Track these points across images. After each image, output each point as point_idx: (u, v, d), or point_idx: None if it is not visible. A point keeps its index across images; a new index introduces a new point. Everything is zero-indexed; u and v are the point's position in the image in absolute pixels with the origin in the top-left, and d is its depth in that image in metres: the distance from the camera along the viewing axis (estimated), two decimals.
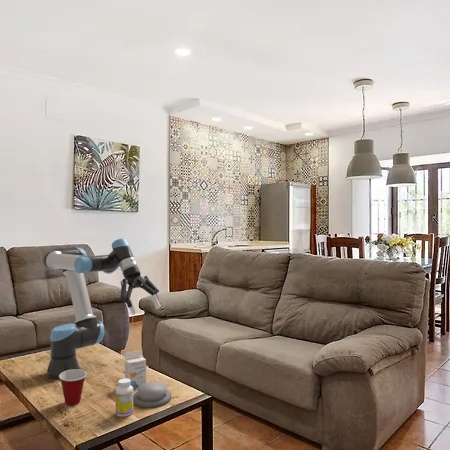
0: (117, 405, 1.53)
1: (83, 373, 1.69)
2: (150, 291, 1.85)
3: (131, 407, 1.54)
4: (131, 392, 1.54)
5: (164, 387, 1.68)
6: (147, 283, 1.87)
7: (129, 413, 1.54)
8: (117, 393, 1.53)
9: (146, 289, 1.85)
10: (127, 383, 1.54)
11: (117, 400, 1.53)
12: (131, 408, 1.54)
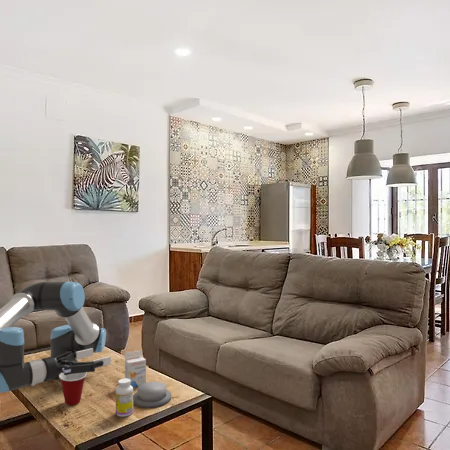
0: (117, 405, 1.53)
1: (83, 373, 1.69)
2: None
3: (131, 407, 1.54)
4: (131, 392, 1.54)
5: (164, 387, 1.68)
6: None
7: (129, 413, 1.54)
8: (117, 393, 1.53)
9: None
10: (127, 383, 1.54)
11: (117, 400, 1.53)
12: (131, 408, 1.54)
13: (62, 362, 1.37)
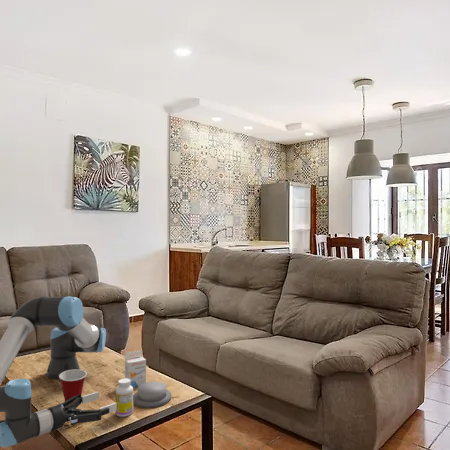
0: (117, 405, 1.53)
1: (83, 373, 1.69)
2: None
3: (131, 407, 1.54)
4: (131, 392, 1.54)
5: (164, 387, 1.68)
6: None
7: (129, 413, 1.54)
8: (117, 393, 1.53)
9: None
10: (127, 383, 1.54)
11: (117, 400, 1.53)
12: (131, 408, 1.54)
13: (69, 411, 1.38)
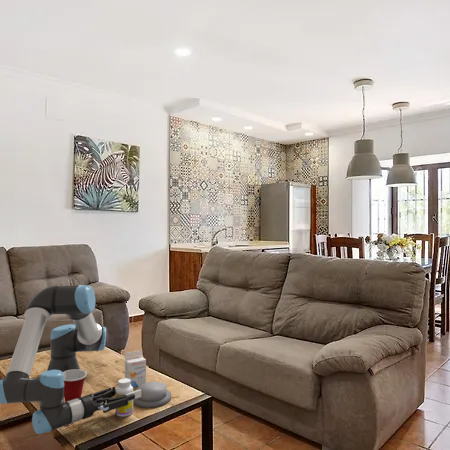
0: None
1: (83, 373, 1.69)
2: None
3: (131, 407, 1.54)
4: None
5: (164, 387, 1.68)
6: None
7: (129, 413, 1.54)
8: (117, 393, 1.53)
9: None
10: (127, 383, 1.54)
11: None
12: (131, 408, 1.54)
13: (98, 400, 1.46)
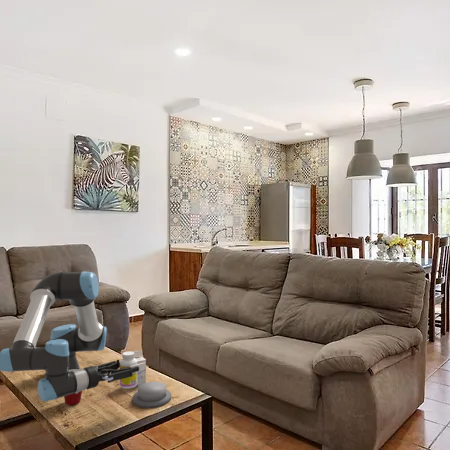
0: None
1: None
2: None
3: (135, 379, 1.56)
4: (135, 364, 1.56)
5: (164, 387, 1.68)
6: None
7: (133, 385, 1.55)
8: (121, 365, 1.54)
9: None
10: (131, 355, 1.55)
11: None
12: (135, 380, 1.56)
13: (103, 371, 1.48)
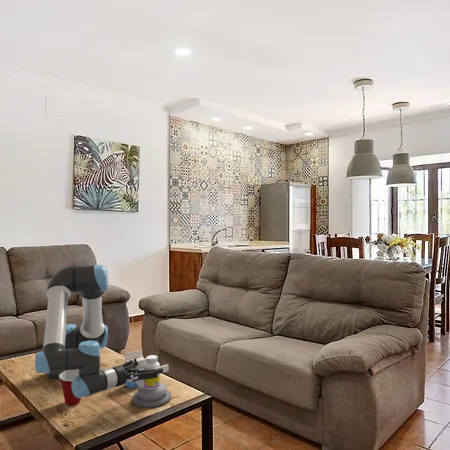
0: (145, 379, 1.66)
1: None
2: None
3: (158, 381, 1.67)
4: None
5: (164, 387, 1.68)
6: None
7: (156, 386, 1.66)
8: (145, 368, 1.66)
9: None
10: (154, 359, 1.67)
11: None
12: (158, 382, 1.67)
13: (129, 370, 1.59)
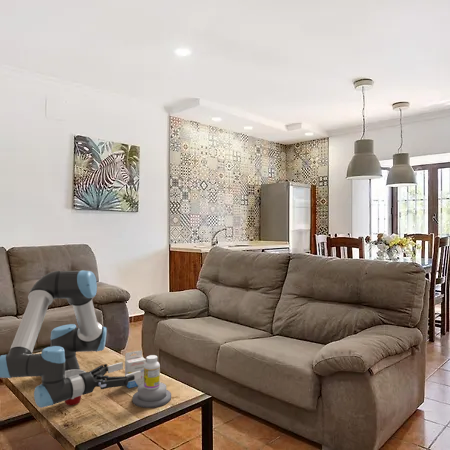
0: (145, 379, 1.66)
1: None
2: None
3: (158, 381, 1.67)
4: (158, 367, 1.67)
5: (164, 387, 1.68)
6: None
7: (156, 386, 1.66)
8: (145, 368, 1.66)
9: None
10: (154, 359, 1.67)
11: (145, 374, 1.66)
12: (158, 382, 1.67)
13: (98, 377, 1.50)
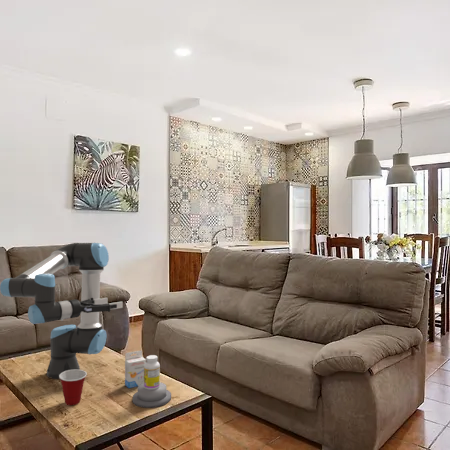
0: (145, 379, 1.66)
1: (83, 373, 1.69)
2: None
3: (158, 381, 1.67)
4: (158, 367, 1.67)
5: (164, 387, 1.68)
6: None
7: (156, 387, 1.66)
8: (145, 368, 1.66)
9: None
10: (154, 359, 1.67)
11: (145, 374, 1.66)
12: (158, 382, 1.67)
13: (84, 304, 1.71)
